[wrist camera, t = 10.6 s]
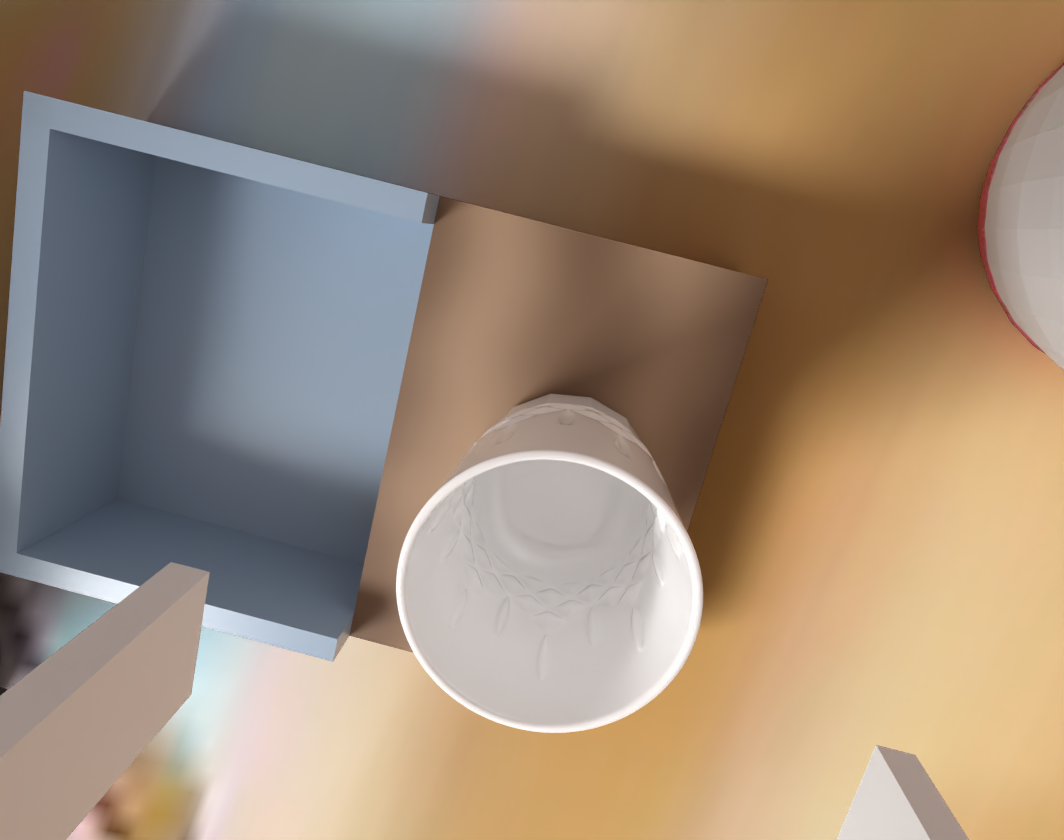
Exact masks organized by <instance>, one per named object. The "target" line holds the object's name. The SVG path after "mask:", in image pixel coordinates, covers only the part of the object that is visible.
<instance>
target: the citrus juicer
mask: <svg viewBox="0 0 1064 840" xmlns="http://www.w3.org/2000/svg"><path fill="white" fill-rule="evenodd" d="M977 226H978V237H979V247H980V255H981V258H982V261H983V265H984V268H985V271H986V274H987V277H988V280H989V283H990V286H991V289H992V290H993V292H994V294H995V296H996V297H997V299H998V301H999V302H1000V304H1001V306H1002V307H1003V309H1004V311H1005V313H1006V314H1007V316H1008V318H1009V319H1010V321H1011V323H1012V324H1013V325H1014V326H1015V327H1016V328H1017V329H1018V330H1019V331H1020V332H1021V333H1022V334H1023V335H1024V336H1025V337H1026V339H1027V340H1028V341H1029V342H1030V343H1031V344H1032V345H1033V346H1034V347H1036V348H1037V349H1039V350H1040V351H1042V352H1043V353H1045V354H1046V355H1047V356H1048V357H1049V358H1050V359H1051V360H1052V361H1053V362H1054V363H1055V364H1056V365H1058V366H1059V367H1061V368H1062V369H1064V63H1063V64H1062V65H1061V66H1060V67H1059V68H1058V69H1057V70H1056V71H1055V72H1054V73H1053V74H1052V75H1050V76H1049V77H1048V78H1047V79H1046V80H1045V81H1044V82H1043V83H1042V84H1041V85H1040V86H1039V87H1038V89H1037V90H1036V91H1035V93H1034V94H1033V95H1032V97H1031V98H1030V99H1029V101H1028V102H1027V103H1026V105H1025V106H1024V107H1023V109H1022V110H1021V111H1020V113H1019V114H1018V115H1017V117H1016V118H1015V119H1014V121H1013V122H1012V124H1011V125H1010V127H1009V129H1008V131H1007V133H1006V134H1005V136H1004V138H1003V140H1002V142H1001V144H1000V146H999V148H998V150H997V152H996V154H995V156H994V158H993V160H992V162H991V164H990V167H989V170H988V173H987V176H986V180H985V183H984V186H983V190H982V193H981V197H980V206H979V216H978V225H977Z"/></svg>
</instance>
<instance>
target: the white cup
mask: <svg viewBox="0 0 1064 840" xmlns="http://www.w3.org/2000/svg"><path fill="white" fill-rule="evenodd" d="M396 597H397V605H398V611H399V616H400V620H401V624H402V627H403V630H404V633H405V635H406V638H407V640H408V642H409V645H410V647H411V649H412V650H413V652H414V654H415V656H416V657H417V659H418V661H419V662H420V664H421V665H422V666H423V668H424V669H425V670H426V672H427V673H428V674H429V675H430V677H431V678H432V679H433V680H434V681H435V682H436V683H437V684H438V685H439V686H440V687H441V688H442V689H443V690H444V691H445V692H446V693H447V694H449V695H450V696H451V697H452V698H454V699H455V700H456V701H458V702H459V703H461V704H462V705H464V706H465V707H467V708H468V709H470V710H472V711H473V712H475V713H477V714H479V715H481V716H483V717H485V718H487V719H490V720H492V721H495V722H497V723H500V724H503V725H506V726H510V727H514V728H518V729H522V730H528V731H535V732H547V733H564V732H575V731H582V730H588V729H592V728H596V727H600V726H603V725H606V724H609V723H612V722H615V721H617V720H619V719H622V718H624V717H626V716H628V715H630V714H632V713H633V712H635V711H637V710H638V709H640V708H642V707H643V706H645V705H646V704H647V703H649V702H650V701H651V700H653V699H654V698H655V697H656V696H657V695H659V694H660V693H661V692H662V691H663V690H664V689H665V688H666V687H667V686H668V685H669V684H670V682H671V681H672V680H673V679H674V678H675V676H676V675H677V674H678V672H679V671H680V670H681V668H682V667H683V665H684V663H685V662H686V660H687V658H688V656H689V654H690V652H691V650H692V648H693V645H694V643H695V640H696V637H697V634H698V631H699V627H700V622H701V617H702V609H703V583H702V575H701V570H700V565H699V561H698V558H697V555H696V552H695V549H694V546H693V544H692V542H691V539H690V537H689V535H688V533H687V531H686V528H685V526H684V524H683V522H682V519H681V517H680V515H679V512H678V510H677V508H676V505H675V503H674V501H673V498H672V496H671V494H670V491H669V489H668V487H667V484H666V482H665V480H664V478H663V476H662V474H661V472H660V470H659V469H658V467H657V465H656V463H655V461H654V459H653V458H652V456H651V454H650V452H649V451H648V449H647V448H646V447H645V445H644V444H643V443H642V441H641V440H640V438H639V437H638V435H637V434H636V432H635V431H634V429H633V428H632V426H631V425H630V423H629V422H628V420H627V419H626V418H625V417H624V416H622V415H620V414H618V413H617V412H615V411H613V410H612V409H610V408H608V407H607V406H605V405H603V404H602V403H600V402H598V401H597V400H595V399H593V398H591V397H583V396H572V395H562V394H548V395H545V396H542V397H539V398H537V399H534V400H531V401H528V402H526V403H523V404H520V405H517V406H515V407H513V408H512V409H511V410H510V411H509V412H508V413H507V414H506V415H505V416H504V417H503V418H502V419H501V420H500V421H499V422H498V423H497V424H496V425H494V426H493V427H491V428H490V429H489V430H488V431H486V432H485V433H484V434H483V435H482V437H481V438H480V439H479V440H478V441H477V442H475V443H474V445H473V446H472V447H471V448H470V449H469V451H468V452H467V453H466V454H465V455H464V457H463V458H462V459H461V460H460V461H459V463H458V464H457V465H456V467H455V468H454V469H453V470H452V472H451V473H450V474H449V475H448V477H447V478H446V479H445V481H444V482H443V483H442V484H441V486H440V487H439V488H438V489H437V490H436V492H435V493H434V494H433V495H432V497H431V498H430V499H429V500H428V501H427V503H426V504H425V505H424V506H423V508H422V509H421V510H420V512H419V513H418V515H417V516H416V518H415V520H414V521H413V523H412V525H411V527H410V529H409V531H408V533H407V535H406V538H405V540H404V543H403V546H402V549H401V553H400V557H399V561H398V567H397V576H396Z"/></svg>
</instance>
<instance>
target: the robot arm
mask: <svg viewBox="0 0 1064 840" xmlns="http://www.w3.org/2000/svg"><path fill="white" fill-rule="evenodd" d="M209 573H210V572H208V571H204V570H200V569H196V568H192V567H188V566H185V565H181V564H177V563H173V562H170V563H169V564H168V565H167V566H165V567H164V568H163V569H161V570H160V571H159V572H158V573H156V574H155V575H154V576H153V577H151V578H150V579H149V580H147V581H146V582H145V583H144V584H142V585H141V586H140V587H138V588H137V589H136V590H135V591H133V592H132V593H131V594H130V595H128V596H127V597H126V598H124V599H123V600H122V601H121V602H119V603H118V604H117V605H115V606H114V607H113V608H112V609H110V610H109V611H108V612H107V613H105V614H104V615H103V616H101V617H100V618H99V619H98V620H96V621H95V622H94V623H92V624H91V625H90V626H89V627H87V628H86V629H85V630H84V631H82V632H81V633H80V634H78V635H77V636H76V637H75V638H73V639H72V640H71V641H69V642H68V643H67V644H66V645H64V646H63V647H62V648H60V649H59V650H58V651H57V652H55V653H54V654H53V655H52V656H50V657H49V658H48V659H46V660H45V661H44V662H43V663H41V664H40V665H39V666H37V667H36V668H35V669H34V670H32V671H31V672H30V673H29V674H27V675H26V676H25V677H23V678H22V679H21V680H20V681H18V682H17V683H16V684H14V685H13V686H12V687H11V688H9V689H4V688H1V687H0V840H66V839H67V838H68V836H69V835H70V834H71V833H72V832H73V831H74V829H75V828H76V827H77V826H78V825H79V824H80V823H81V821H82V820H83V819H84V818H85V817H86V816H87V814H88V813H89V812H90V811H91V810H92V809H93V807H94V806H95V805H96V804H97V803H98V802H99V801H100V799H101V798H102V797H103V796H104V795H105V794H106V792H107V791H108V790H109V789H110V788H111V787H112V785H113V784H114V783H115V782H116V781H117V780H118V779H119V777H120V776H121V775H122V774H123V773H124V772H125V770H126V769H127V768H128V767H129V766H130V765H131V763H132V762H133V761H134V760H135V759H136V758H137V757H138V755H139V754H140V753H141V752H142V751H143V750H144V748H145V747H146V746H147V745H148V744H149V743H150V742H151V740H152V739H153V738H154V737H155V736H156V735H157V733H158V732H159V731H160V730H161V729H162V728H163V726H164V725H165V724H166V723H167V722H168V721H169V720H170V718H171V717H172V716H173V715H174V714H175V713H176V711H177V710H178V709H179V708H180V707H181V706H182V704H183V703H184V702H185V701H186V700H187V699H188V698H189V696H190V695H191V692H192V685H193V679H194V672H195V666H196V659H197V652H198V646H199V639H200V632H201V626H202V619H203V613H204V606H205V599H206V593H207V586H208V580H209ZM837 840H969V839H968V837H967V836H966V834H965V832H964V831H963V829H962V828H961V826H960V824H959V823H958V821H957V820H956V818H955V817H954V815H953V813H952V812H951V810H950V809H949V807H948V806H947V804H946V802H945V801H944V799H943V798H942V796H941V795H940V793H939V791H938V790H937V788H936V787H935V785H934V784H933V782H932V780H931V779H930V777H929V776H928V774H927V773H926V771H925V769H924V768H923V766H922V765H921V763H920V762H919V760H918V758H917V757H916V755H913V754H909V753H905V752H902V751H898V750H894V749H890V748H886V747H882V746H879V745H876V746H875V749H874V751H873V754H872V756H871V758H870V761H869V763H868V766H867V768H866V770H865V773H864V775H863V777H862V780H861V782H860V785H859V787H858V789H857V792H856V794H855V797H854V799H853V801H852V804H851V806H850V808H849V811H848V813H847V816H846V818H845V820H844V823H843V825H842V828H841V830H840V832H839V835H838V837H837Z"/></svg>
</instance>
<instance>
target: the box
mask: <svg viewBox="0 0 1064 840" xmlns="http://www.w3.org/2000/svg"><path fill="white" fill-rule="evenodd" d="M439 197H440V196H438V195H434V194H430V193H426V192H422V191H418V190H415V189H411V188H407V187H403V186H399V185H395V184H391V183H387V182H383V181H379V180H375V179H371V178H367V177H363V176H359V175H355V174H351V173H348V172H344V171H340V170H336V169H332V168H328V167H324V166H320V165H316V164H312V163H308V162H304V161H300V160H296V159H292V158H288V157H284V156H280V155H277V154H273V153H269V152H265V151H261V150H257V149H253V148H249V147H245V146H241V145H237V144H233V143H229V142H225V141H221V140H217V139H213V138H210V137H206V136H202V135H198V134H194V133H190V132H186V131H182V130H178V129H174V128H170V127H166V126H162V125H158V124H154V123H150V122H146V121H143V120H139V119H135V118H131V117H127V116H123V115H119V114H115V113H111V112H107V111H103V110H99V109H95V108H91V107H87V106H83V105H79V104H76V103H72V102H68V101H64V100H60V99H56V98H52V97H48V96H44V95H40V94H36V93H32V92H28V91H24V94H23V108H22V122H21V137H20V151H19V165H18V180H17V194H16V208H15V223H14V237H13V251H12V266H11V280H10V294H9V309H8V323H7V337H6V352H5V366H4V380H3V395H2V409H1V423H0V573H4V574H8V575H12V576H15V577H19V578H23V579H27V580H30V581H34V582H38V583H42V584H45V585H49V586H53V587H56V588H60V589H64V590H68V591H71V592H75V593H79V594H83V595H86V596H90V597H94V598H97V599H101V600H105V601H109V602H112V603H116V604H118V603H119V602H121V601H122V600H123V599H124V598H126V597H127V596H128V595H130V594H131V593H132V592H133V591H135V590H136V589H137V588H138V587H140V586H141V585H142V584H144V583H145V582H146V581H147V580H149V579H150V578H151V577H153V576H154V575H155V574H156V573H158V572H159V571H160V570H161V569H163V568H164V567H165V566H167V565H168V564H169V563H170V562H173V563H177V564H181V565H185V566H188V567H192V568H196V569H200V570H204V571H208V572H210V573H209V580H208V586H207V593H206V599H205V606H204V613H203V619H202V627H206V628H209V629H213V630H217V631H221V632H224V633H228V634H232V635H236V636H239V637H243V638H247V639H250V640H254V641H258V642H262V643H265V644H269V645H273V646H277V647H280V648H284V649H288V650H291V651H295V652H299V653H303V654H306V655H310V656H314V657H318V658H321V659H325V660H329V661H334V659H335V658H336V656H337V654H338V653H339V651H340V650H341V648H342V646H343V645H344V643H345V642H346V640H347V638H348V637H349V634H350V629H351V625H352V620H353V615H354V610H355V605H356V600H357V595H358V591H359V586H360V581H361V576H362V571H363V566H364V561H365V557H366V552H367V547H368V542H369V537H370V532H371V527H372V523H373V518H374V513H375V508H376V503H377V498H378V493H379V489H380V484H381V479H382V474H383V469H384V464H385V459H386V455H387V450H388V445H389V440H390V435H391V430H392V425H393V421H394V416H395V411H396V406H397V401H398V396H399V391H400V387H401V382H402V377H403V372H404V367H405V362H406V357H407V353H408V348H409V343H410V338H411V333H412V328H413V323H414V319H415V314H416V309H417V304H418V299H419V294H420V289H421V285H422V280H423V275H424V270H425V265H426V260H427V255H428V251H429V246H430V241H431V236H432V231H433V226H434V221H435V216H436V212H437V207H438V202H439Z"/></svg>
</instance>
